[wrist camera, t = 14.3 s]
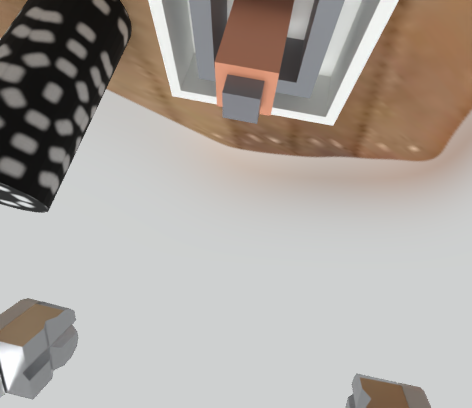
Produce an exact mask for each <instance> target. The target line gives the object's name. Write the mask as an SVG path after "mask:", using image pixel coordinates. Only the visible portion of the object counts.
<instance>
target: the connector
mask: <svg viewBox="0 0 472 408" xmlns="http://www.w3.org/2000/svg"><path fill="white" fill-rule="evenodd" d="M293 4H294V0H234V2H233V5H232V8H231V11H230V15H229V18H228V21H227V24H226V27H225V30H224V34H223V37H222V40H221V43H220V46H219V49H218V53H217V56H216V59H215V79H216V97H217V106H221V107H223V117H224V118H229V119H234V120H240V121H245V122H250V123H256V124H257V122H258V117H259V114H263V115H269V116H271V111H272V106H273V102H274V97H275V92H276V87H277V82H278V77H279V72H280V68H281V63H282V58H283V53H284V48H285V43H286V38H287V34H288V29H289V24H290V19H291V14H292V9H293Z"/></svg>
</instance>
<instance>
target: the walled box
mask: <svg viewBox="0 0 472 408" xmlns="http://www.w3.org/2000/svg"><path fill="white" fill-rule="evenodd" d="M148 1H149V5H150V9H151V13H152V17H153V21H154V25H155V29H156V33H157V37H158V41H159V45H160V49H161V53H162V57H163V61H164V65H165V69H166V73H167V77H168V81H169V85H170V89H171V93H172V96H175V97H180V98H185V99H191V100H196V101H202V102H207V103H213V104H217V97H216V79H215V59H216V56H217V53H218V49H219V46H220V43H221V40H222V37H223V34H224V30H225V27H226V24H227V21H228V18H229V15H230V11H231V8H232V5H233V2H234V0H148ZM398 1H399V0H294V4H293V9H292V14H291V19H290V24H289V29H288V34H287V38H286V43H285V48H284V53H283V58H282V63H281V68H280V72H279V77H278V82H277V87H276V92H275V97H274V102H273V106H272V111H271V114H272V115H278V116H283V117H288V118H294V119H299V120H305V121H310V122H316V123H321V124H326V125H332V126H333V125H334V123H335V121H336V119H337V117H338V115H339V113H340V111H341V110H342V108H343V106H344V104H345V102H346V100H347V98H348V96H349V94H350V92H351V90H352V89H353V87H354V85H355V83H356V81H357V79H358V77H359V75H360V73H361V71H362V69H363V68H364V66H365V64H366V62H367V60H368V58H369V56H370V54H371V52H372V50H373V48H374V46H375V45H376V43H377V41H378V39H379V37H380V35H381V33H382V31H383V29H384V27H385V25H386V24H387V22H388V20H389V18H390V16H391V14H392V12H393V10H394V8H395V6H396V4H397V3H398Z"/></svg>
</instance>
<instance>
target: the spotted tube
mask: <svg viewBox="0 0 472 408" xmlns="http://www.w3.org/2000/svg"><path fill="white" fill-rule="evenodd" d="M130 36H131V23H130V20H129V17H128V14H127V12H126V10H125V8H124V6H123V5H122V4H121V2H120V1H119V0H28V1H27V2H26V4H25V5H24V7H23V8H22V9H21V11H20V12H19V14H18V15H17V17H16V18H15V20H14V21H13V22H12V24H11V25H10V27H9V28H8V30H7V31H6V33H5V34H4V35H3V37H2V38H1V40H0V204H2V205H6V206H10V207H13V208H17V209H21V210H26V211H32V212H48V210H49V208H50V206H51V204H52V201H53V200H54V198H55V195H56V194H57V191H58V189H59V187H60V185H61V183H62V181H63V179H64V177H65V175H66V172H67V170H68V168H69V166H70V164H71V162H72V160H73V157H74V155H75V153H76V151H77V149H78V147H79V145H80V143H81V141H82V139H83V136H84V134H85V132H86V130H87V128H88V126H89V124H90V122H91V120H92V117H93V115H94V113H95V111H96V109H97V107H98V105H99V103H100V100H101V98H102V96H103V94H104V92H105V90H106V88H107V86H108V84H109V81H110V79H111V77H112V75H113V73H114V71H115V69H116V67H117V65H118V62H119V60H120V58H121V56H122V54H123V52H124V50H125V48H126V46H127V43H128V41H129V39H130Z"/></svg>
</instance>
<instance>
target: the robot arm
mask: <svg viewBox="0 0 472 408" xmlns="http://www.w3.org/2000/svg"><path fill="white" fill-rule="evenodd" d="M75 320H76V318H75V312H74V311H73V310H71V309H69V308H65V307H61V306H57V305H53V304H50V303H46V302H40V301H37V300H33V299H29V298H27V299H23V300H20V301H19V302H18V303H16V304H15V305H13V306H12V307H10V308H9V309H7V310H6V311H5V312H3V313H2V314H0V397H1V396H3V395H5V393H9V394H14V395H18V396H21V397H25V398H30V399H34V398H35V397H36V396H37V395H38V393H39V392H40V391H41V390H42V389H43V388H44V387H45V386H46V385H47V384H48V382H49V381H50V380H51V379H52V376H53V371H54V370H55V369H57V368H59V367H61V366H63V365H65V364H66V362H67V361H68V360H69V359H70V358H71V356H72V355H73V353H74V351H75V348H76V347H77V341H78V334H77V331H76V329H75V328H74V327H73V325H72V324H73V323H74V322H75ZM352 388H353V394H352V395H351V396H349V397H348V400H347V404H346V408H431V406H430V404H429V402H428V399H427V397H426V394H425V392H424V391H423V390H422V389H421V388H420V387H416V386H411V385H407V384H402V383H396V382H393V381H388V380H384V379H379V378H374V377H370V376H365V375H361V374H356V375H355V377H354V379H353V382H352Z"/></svg>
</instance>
